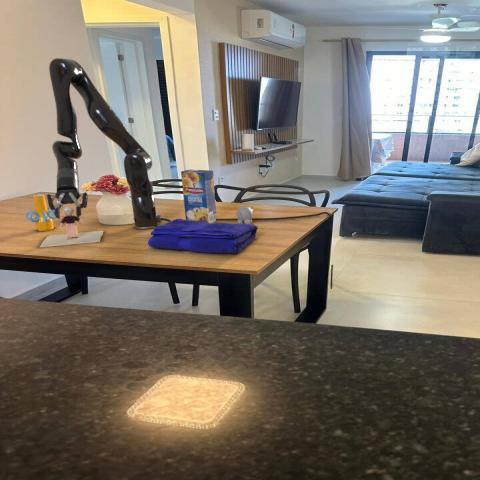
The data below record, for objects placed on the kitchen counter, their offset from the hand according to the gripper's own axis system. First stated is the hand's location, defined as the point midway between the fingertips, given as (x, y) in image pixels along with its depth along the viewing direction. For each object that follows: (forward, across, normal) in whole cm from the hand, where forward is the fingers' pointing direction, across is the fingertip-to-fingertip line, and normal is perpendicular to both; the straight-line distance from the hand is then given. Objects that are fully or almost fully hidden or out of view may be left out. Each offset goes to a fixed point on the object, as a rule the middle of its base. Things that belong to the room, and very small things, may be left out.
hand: (68, 216), depth 149 cm
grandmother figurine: (+5, 0, +8) cm, 10 cm away
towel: (+22, +49, -8) cm, 54 cm away
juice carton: (-1, +51, +15) cm, 53 cm away
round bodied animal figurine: (+6, +71, +8) cm, 72 cm away
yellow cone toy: (-8, -13, +22) cm, 26 cm away
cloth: (+6, 0, +8) cm, 10 cm away
